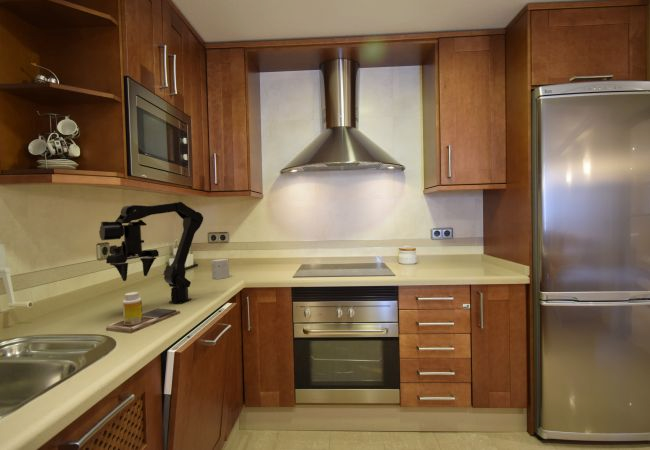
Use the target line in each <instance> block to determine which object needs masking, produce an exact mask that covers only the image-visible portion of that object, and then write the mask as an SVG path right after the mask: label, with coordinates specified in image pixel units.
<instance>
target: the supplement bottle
mask: <svg viewBox="0 0 650 450" xmlns="http://www.w3.org/2000/svg"><path fill="white" fill-rule="evenodd" d="M124 298H125V299H123V300H122V315H123V320H124V324H125V325H128V326H130V325H136V324H139V323H141V322H142V321H143V316H142V314H143V305H142V303H143V301H142V298H141V297H140V293H139V292H138V291H132V292H127V293H125V294H124Z"/></svg>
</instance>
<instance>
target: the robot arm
mask: <svg viewBox="0 0 650 450" xmlns="http://www.w3.org/2000/svg"><path fill="white" fill-rule="evenodd" d="M173 212H174V213H176V214H177V215H178V216H179V218H181V219H182V227H183V229H182V230H183V232H182V235H181V237H180V240H179V244H178V247H177V249H176V253H175V255H174V258H173V262H172V263H171V264H170V265H168V264H167V265H166V266H165V271H164V272H163V275H164V277H163V280H164V281H165V283H167V284H168V286H169V287H170V291H171V292H170V297H171V298H170V299H171V300H169V301H168V303H169V304H170V303H171V304H183V303H186V302H189V301H192V298H190V297H189V288H190V287H191V284H192V283H191V281H190V280H189V279H188V278H186V270H187V269H186V263H187V259H188V257H189V254H190V253H189V252H190V250H191V247H192V243H193V240H194V237H195V234H196V232H197V231H199V229H200V228H201V226H202V224H203V222H204V216H203V214H202V213H201V212H199V211H197V210H196V209H193V208H191V207H190V206H188V205H186V204H185V203H184V202H182V201H175V202H169V203H164V204H163V203H162V204H155V205H154V204H153V205H139V204H138V205H137V204H133V205H132V204H131V205H125V206H123V207H121V209H120V215H119V216H118V217H117V218H116V220H115V221H101V222H100V227H99V231H98V233H99V238H100V240H101V241H113V240H121V238H122V237H123V241H121V245H120V246H119V245H118V246H117V245H110V246H109V249H108V250H109V254H110V255H107V257H106V259H105V261H106V262H105V263H106V264H109V265H110V266H113V267H114V268H115V269H116V270H117V271H118V273H119V274H120V277H121V279H122V281H123V282H126V281H127V278H128V270H129V269H128V268H129V267H128V266H129V262H127V261H128V260H132V259H133V260H134V259H138V258H139V259H140V261H141V262H142V272H143V276H144V277H147V276H148V275H149V274H148V273H150V270H151V268H152V266H153V264H154V261H155V260H157V258H158V257H159V256H160V255H159V251H158V249H143V243H144V244H145V239H142V229H141V228H142V227H143V226H147V223H146V222H145V221H143V220H142V219H145V218H146V217H149V216H151V215H152V216H153V215H159V214H166V213H167V214H169V213H173ZM125 224H126V225H125ZM141 226H142V227H141Z"/></svg>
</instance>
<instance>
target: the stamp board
mask: <svg viewBox="0 0 650 450" xmlns="http://www.w3.org/2000/svg"><path fill="white" fill-rule="evenodd" d="M179 314H181V310H176V309H167V308H155V309H152V310H149V311H147V312H142V316H143V321H142V322H141V323H139V324H136V325H130V326H128V325H125V324H124V319H122V320H119V321H116V322H113V323H111V324H107V325H105V330H106V331H110V332H111V331H112V332H118V333H119V332H120V333H127V334H132V333H135V332H138V331H139V330H143V329H145V328H147V327H150V326H153V325H155V324H157V323H159V322H162V321H164V320H168V319H169V318H171V317H174V316H177V315H179Z"/></svg>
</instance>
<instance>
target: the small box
mask: <svg viewBox="0 0 650 450" xmlns="http://www.w3.org/2000/svg"><path fill="white" fill-rule="evenodd" d="M210 263H211V278H212V280H223V279H228V278H230V265H229V264H230V263H229V259H227V258H219V259H212V260H211V261H210Z"/></svg>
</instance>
